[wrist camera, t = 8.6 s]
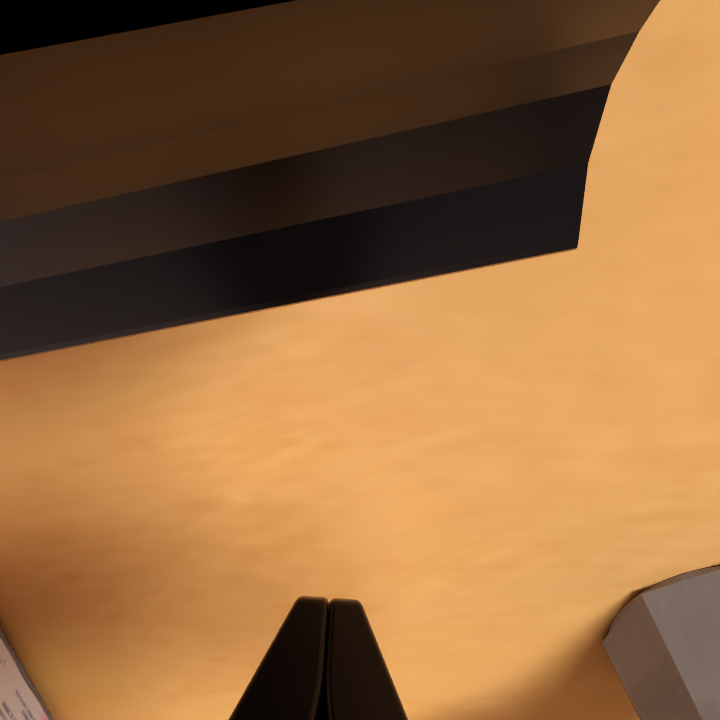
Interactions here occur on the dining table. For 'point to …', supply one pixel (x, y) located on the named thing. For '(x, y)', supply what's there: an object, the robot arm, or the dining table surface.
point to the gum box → (16, 692)
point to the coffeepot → (671, 648)
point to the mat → (24, 674)
